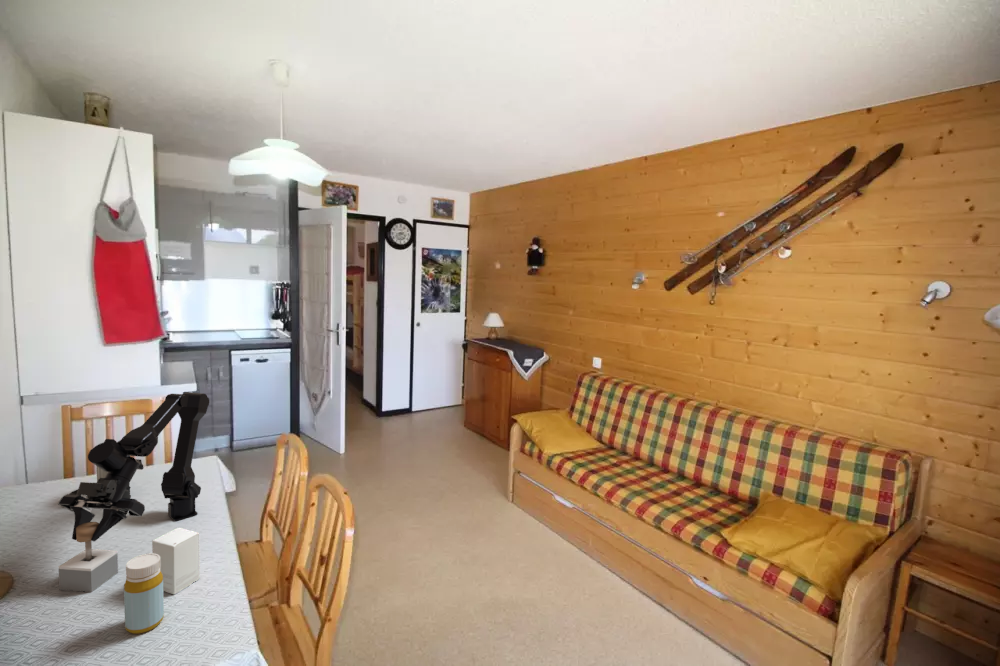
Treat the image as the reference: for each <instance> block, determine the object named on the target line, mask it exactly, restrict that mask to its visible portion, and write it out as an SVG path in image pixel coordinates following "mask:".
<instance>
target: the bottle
mask: <svg viewBox="0 0 1000 666" xmlns="http://www.w3.org/2000/svg"><path fill="white" fill-rule="evenodd" d="M160 566H161V562H160V556H159V555H158V554H153V552H152V553H144V554H140V555H136V556H135V557H133V558H131V559H130V560H128V561H127V562H126V565H125V577H126V578H125V582H124V586H123V599H124V600H123V602H124V603H123V604H124V607H123V608H124V626H125V627H124V628H125V631H127V632H128V633H130V634H133V635H136V634H137V635H139V634H145V633H147V632H150V631H151V630H154V629H155V628H156V627H158V626H159V624H160V623H162V621H163V620H164V615H165V610H164V607H165V605H164V601H165V600H164V591H163V575H162V573H161V571H160Z"/></svg>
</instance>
